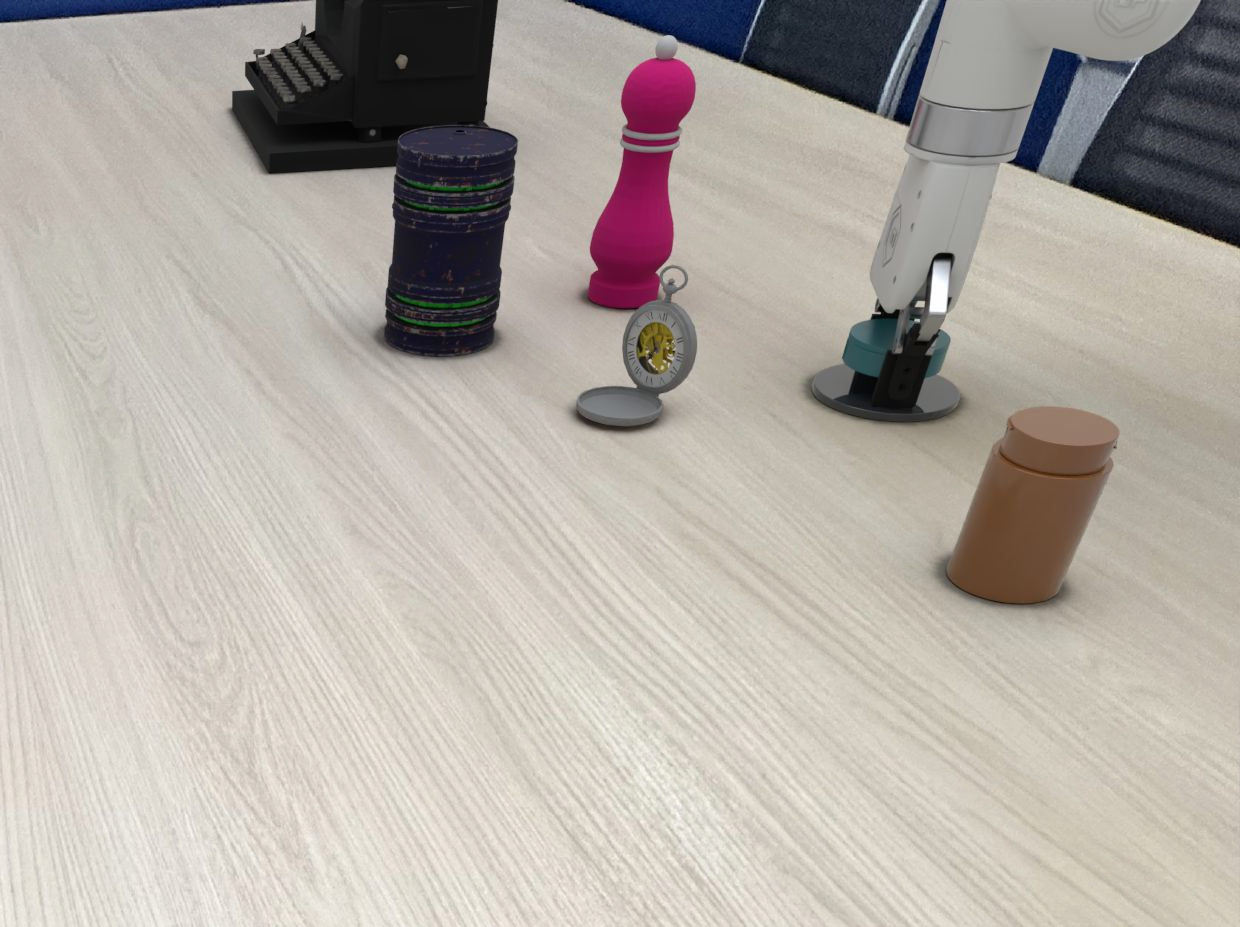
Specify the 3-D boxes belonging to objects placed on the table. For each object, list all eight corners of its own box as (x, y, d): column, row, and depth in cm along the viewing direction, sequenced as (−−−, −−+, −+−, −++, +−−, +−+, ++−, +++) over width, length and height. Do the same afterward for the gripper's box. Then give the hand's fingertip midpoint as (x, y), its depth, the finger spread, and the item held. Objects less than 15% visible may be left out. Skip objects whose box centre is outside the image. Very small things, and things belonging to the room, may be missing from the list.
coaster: (944, 372, 118) (947, 364, 118) (969, 425, 110) (972, 417, 110) (804, 366, 120) (806, 358, 119) (819, 418, 112) (822, 410, 112)
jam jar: (1046, 558, 95) (1111, 406, 88) (1070, 607, 90) (1141, 451, 84) (937, 551, 96) (993, 400, 89) (956, 600, 92) (1016, 445, 85)
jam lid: (846, 377, 111) (854, 349, 110) (836, 343, 117) (844, 316, 115) (948, 382, 110) (958, 354, 109) (933, 348, 115) (943, 320, 114)
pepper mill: (630, 316, 129) (680, 48, 115) (565, 298, 133) (605, 36, 119) (678, 297, 132) (732, 34, 118) (613, 279, 136) (658, 22, 122)
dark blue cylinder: (492, 359, 123) (517, 158, 112) (377, 354, 124) (390, 155, 113) (497, 319, 129) (521, 125, 119) (388, 314, 131) (402, 123, 120)
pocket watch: (568, 425, 112) (591, 286, 105) (585, 386, 118) (608, 252, 111) (676, 437, 110) (707, 296, 103) (688, 397, 116) (718, 260, 109)
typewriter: (232, 109, 186) (232, -141, 169) (437, 97, 188) (458, -152, 170) (269, 173, 165) (273, -106, 147) (500, 159, 166) (532, -119, 149)
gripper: (892, 98, 109) (822, 345, 121) (931, 160, 97) (849, 427, 109) (998, 99, 107) (916, 349, 120) (1050, 163, 96) (954, 432, 108)
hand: (885, 384), depth 115 cm, fingers closed on jam lid, 7 cm apart
